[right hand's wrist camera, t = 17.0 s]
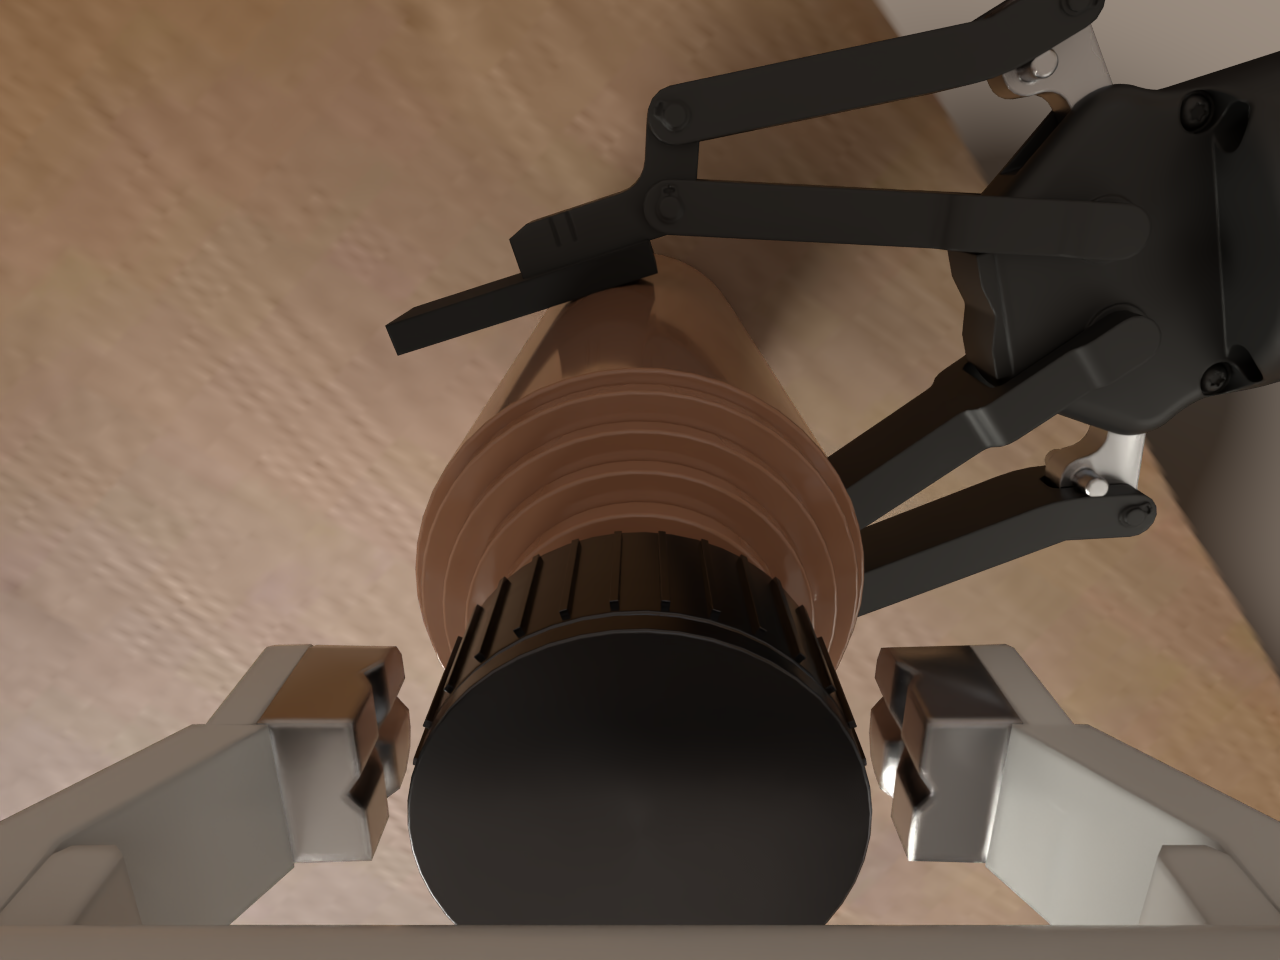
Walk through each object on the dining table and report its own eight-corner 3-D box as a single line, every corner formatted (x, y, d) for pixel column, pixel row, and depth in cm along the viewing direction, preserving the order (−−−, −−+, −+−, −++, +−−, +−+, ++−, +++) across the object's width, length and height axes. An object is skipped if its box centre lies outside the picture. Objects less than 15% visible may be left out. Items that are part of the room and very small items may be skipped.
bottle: (766, 278, 27) (1088, 569, 8) (713, 471, 29) (857, 1072, 10) (558, 230, 26) (333, 411, 7) (522, 431, 29) (277, 981, 9)
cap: (531, 462, 9) (499, 547, 7) (902, 616, 10) (971, 733, 8) (397, 777, 10) (339, 922, 8) (727, 891, 11) (747, 1051, 9)
